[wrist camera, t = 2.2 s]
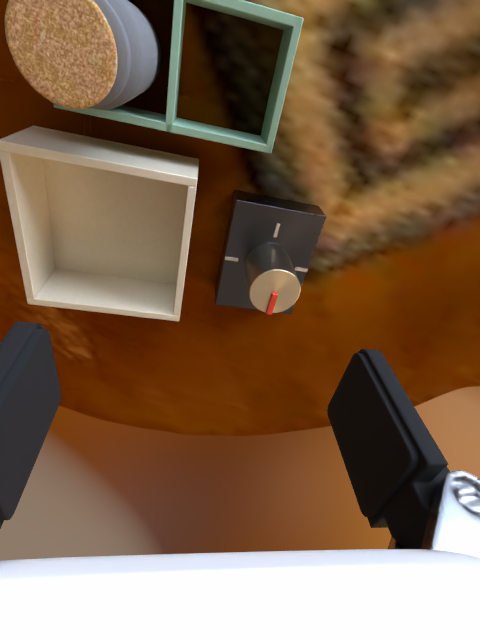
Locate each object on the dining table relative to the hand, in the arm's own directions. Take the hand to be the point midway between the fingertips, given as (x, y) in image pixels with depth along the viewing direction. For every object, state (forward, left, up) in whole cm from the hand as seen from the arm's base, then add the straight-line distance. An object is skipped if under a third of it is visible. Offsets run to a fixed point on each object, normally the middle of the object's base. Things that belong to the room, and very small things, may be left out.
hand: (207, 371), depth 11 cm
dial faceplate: (+8, +8, -28) cm, 30 cm away
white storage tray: (+7, -8, -28) cm, 30 cm away
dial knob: (+8, +8, -24) cm, 27 cm away
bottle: (-7, -8, -28) cm, 29 cm away
